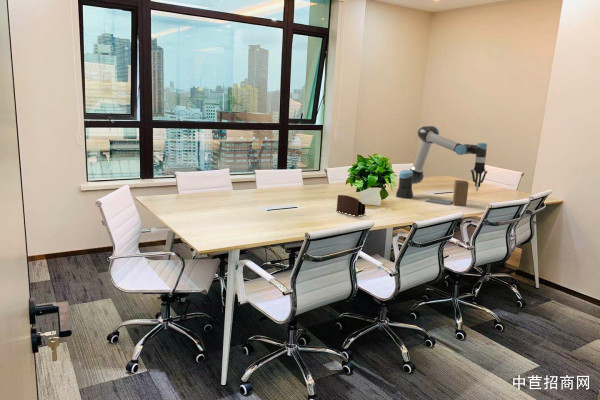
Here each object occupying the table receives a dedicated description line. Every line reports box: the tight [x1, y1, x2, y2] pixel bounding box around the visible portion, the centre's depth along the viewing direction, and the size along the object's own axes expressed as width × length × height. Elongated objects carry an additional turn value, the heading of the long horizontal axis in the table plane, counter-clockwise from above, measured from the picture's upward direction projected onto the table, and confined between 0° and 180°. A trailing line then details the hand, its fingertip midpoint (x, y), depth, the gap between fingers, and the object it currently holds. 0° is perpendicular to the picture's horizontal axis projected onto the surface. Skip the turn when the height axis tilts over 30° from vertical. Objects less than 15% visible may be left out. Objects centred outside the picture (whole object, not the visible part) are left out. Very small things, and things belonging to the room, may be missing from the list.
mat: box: [425, 197, 453, 206], centre depth 397 cm, size 20×16×1 cm
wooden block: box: [452, 179, 469, 207], centre depth 386 cm, size 10×10×20 cm
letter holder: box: [336, 194, 366, 217], centre depth 346 cm, size 10×20×14 cm, turn 45°
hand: (476, 190), depth 379 cm, fingers closed
